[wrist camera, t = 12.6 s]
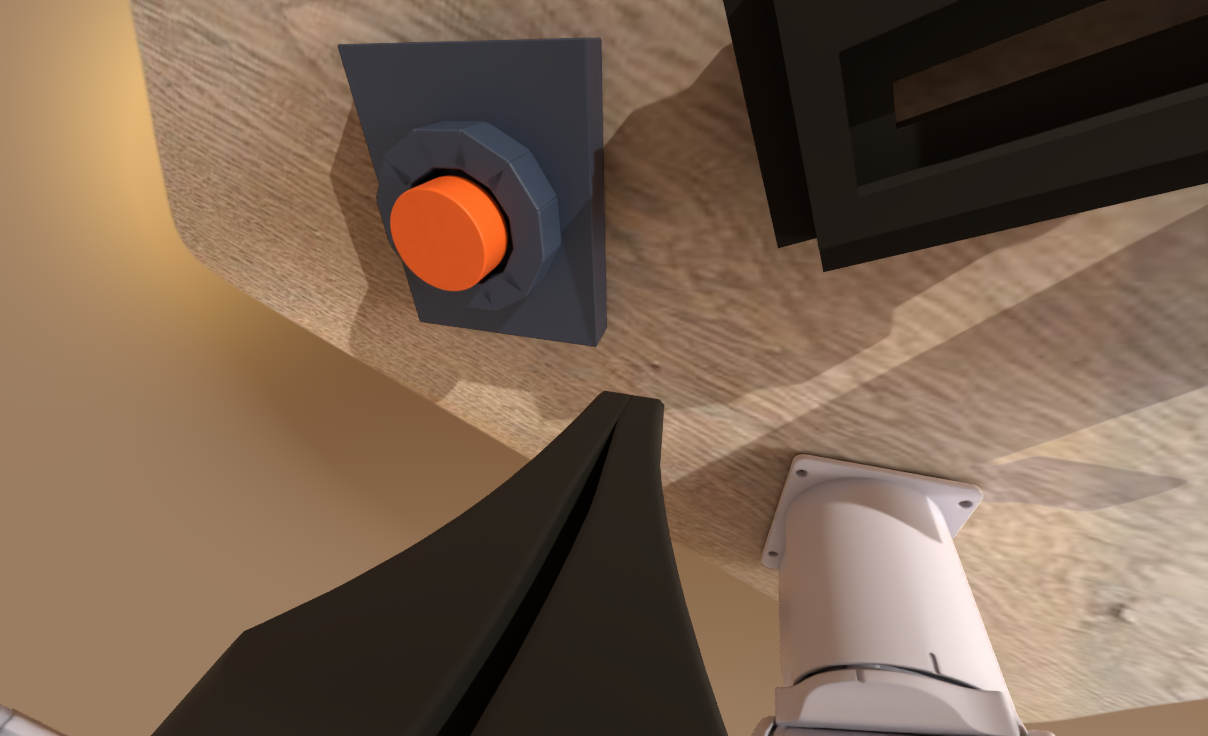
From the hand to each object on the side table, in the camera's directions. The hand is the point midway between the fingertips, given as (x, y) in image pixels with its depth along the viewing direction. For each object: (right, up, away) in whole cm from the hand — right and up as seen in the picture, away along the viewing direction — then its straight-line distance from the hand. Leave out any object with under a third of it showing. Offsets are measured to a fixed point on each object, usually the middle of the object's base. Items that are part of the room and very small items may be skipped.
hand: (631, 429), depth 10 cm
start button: (-6, +7, +7) cm, 11 cm away
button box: (-5, +8, +9) cm, 13 cm away
